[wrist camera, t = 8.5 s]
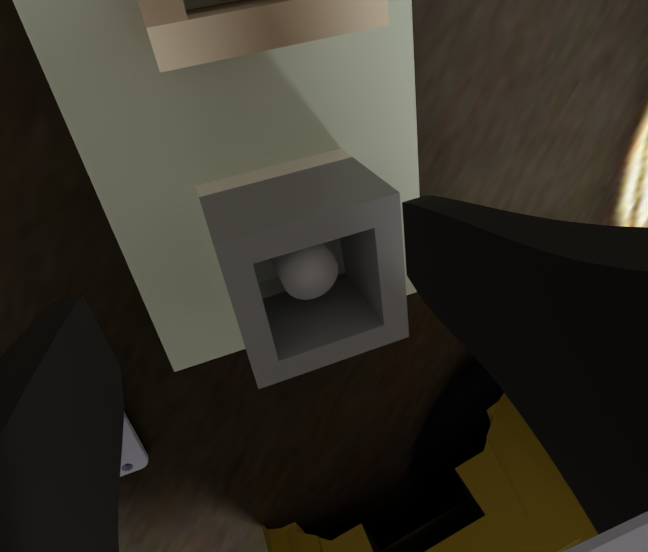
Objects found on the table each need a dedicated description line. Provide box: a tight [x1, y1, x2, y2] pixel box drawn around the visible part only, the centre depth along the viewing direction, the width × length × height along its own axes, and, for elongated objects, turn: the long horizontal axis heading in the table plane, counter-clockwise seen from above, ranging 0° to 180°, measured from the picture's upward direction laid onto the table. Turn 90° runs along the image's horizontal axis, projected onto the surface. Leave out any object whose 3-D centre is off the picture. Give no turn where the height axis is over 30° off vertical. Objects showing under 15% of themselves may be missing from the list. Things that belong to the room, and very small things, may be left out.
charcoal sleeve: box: [196, 148, 409, 389], centre depth 17 cm, size 6×6×5 cm
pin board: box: [12, 0, 420, 372], centre depth 16 cm, size 12×20×5 cm, turn 8°
